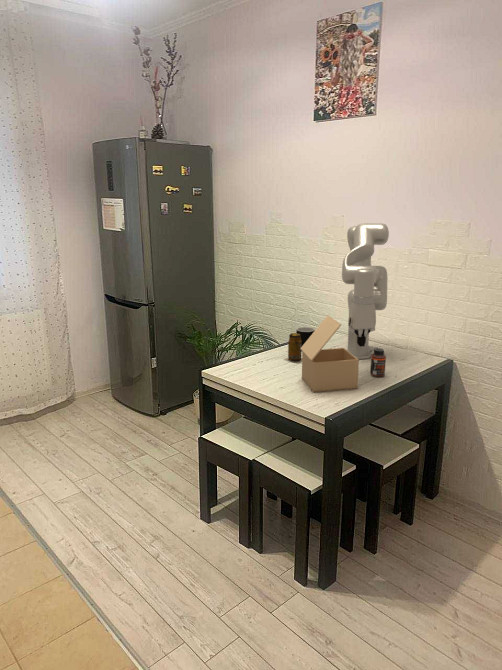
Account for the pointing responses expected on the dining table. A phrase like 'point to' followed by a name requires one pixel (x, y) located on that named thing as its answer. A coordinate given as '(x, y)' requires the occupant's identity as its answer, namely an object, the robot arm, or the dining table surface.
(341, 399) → the dining table surface
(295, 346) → the condiment
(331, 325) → the lid flap
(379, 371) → the supplement bottle
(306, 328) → the mug
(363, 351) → the robot arm
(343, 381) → the carton
